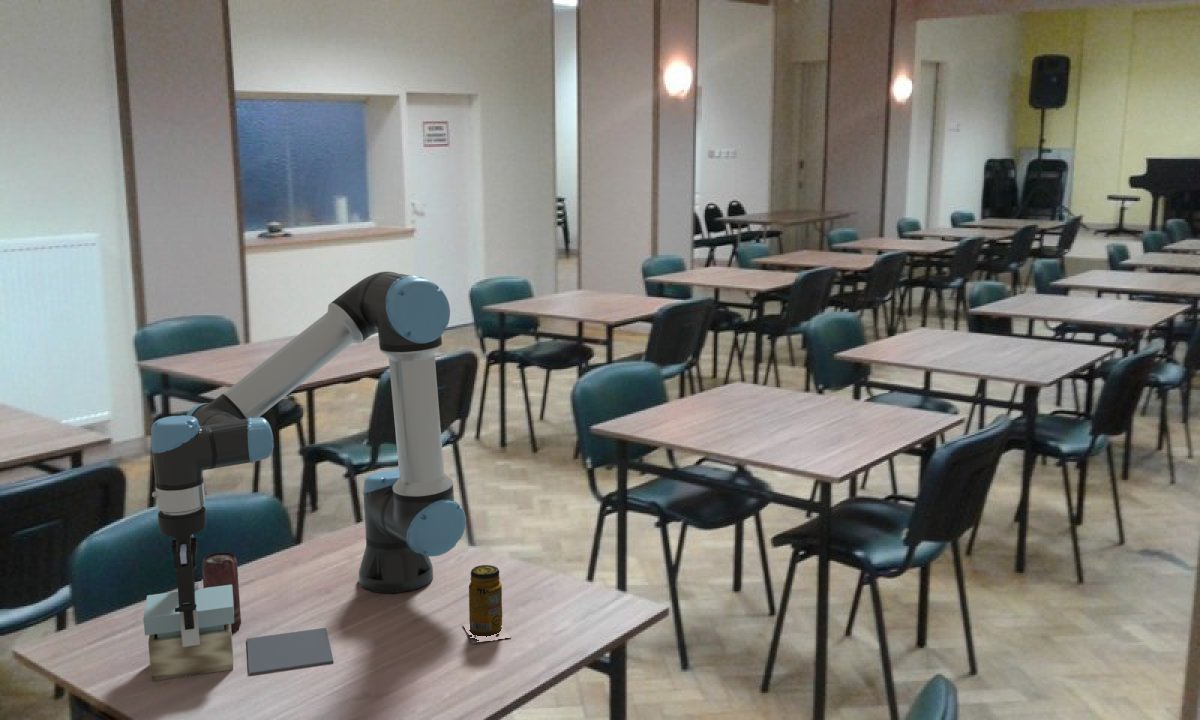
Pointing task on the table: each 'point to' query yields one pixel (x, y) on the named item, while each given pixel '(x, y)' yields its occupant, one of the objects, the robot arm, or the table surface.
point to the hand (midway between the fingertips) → (192, 631)
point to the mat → (288, 651)
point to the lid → (211, 611)
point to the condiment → (485, 601)
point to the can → (223, 578)
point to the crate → (190, 655)
